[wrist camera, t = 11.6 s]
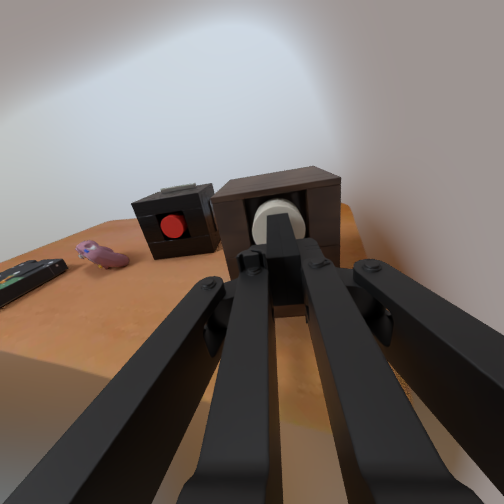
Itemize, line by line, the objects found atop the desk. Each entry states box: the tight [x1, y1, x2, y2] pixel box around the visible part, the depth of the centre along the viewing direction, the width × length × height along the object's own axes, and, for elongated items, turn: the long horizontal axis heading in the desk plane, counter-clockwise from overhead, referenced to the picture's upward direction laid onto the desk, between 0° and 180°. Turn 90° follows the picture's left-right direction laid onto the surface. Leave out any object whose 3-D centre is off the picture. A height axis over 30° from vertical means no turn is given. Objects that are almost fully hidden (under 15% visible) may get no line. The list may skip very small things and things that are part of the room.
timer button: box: [252, 198, 305, 245], centre depth 17 cm, size 4×3×4 cm, turn 86°
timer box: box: [211, 166, 341, 318], centre depth 24 cm, size 10×10×13 cm
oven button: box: [161, 212, 188, 238], centre depth 38 cm, size 4×3×4 cm, turn 86°
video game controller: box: [75, 241, 129, 269], centre depth 41 cm, size 10×5×7 cm, turn 50°
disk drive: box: [0, 259, 68, 307], centre depth 38 cm, size 10×3×15 cm
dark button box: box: [131, 183, 221, 260], centre depth 42 cm, size 12×10×12 cm
